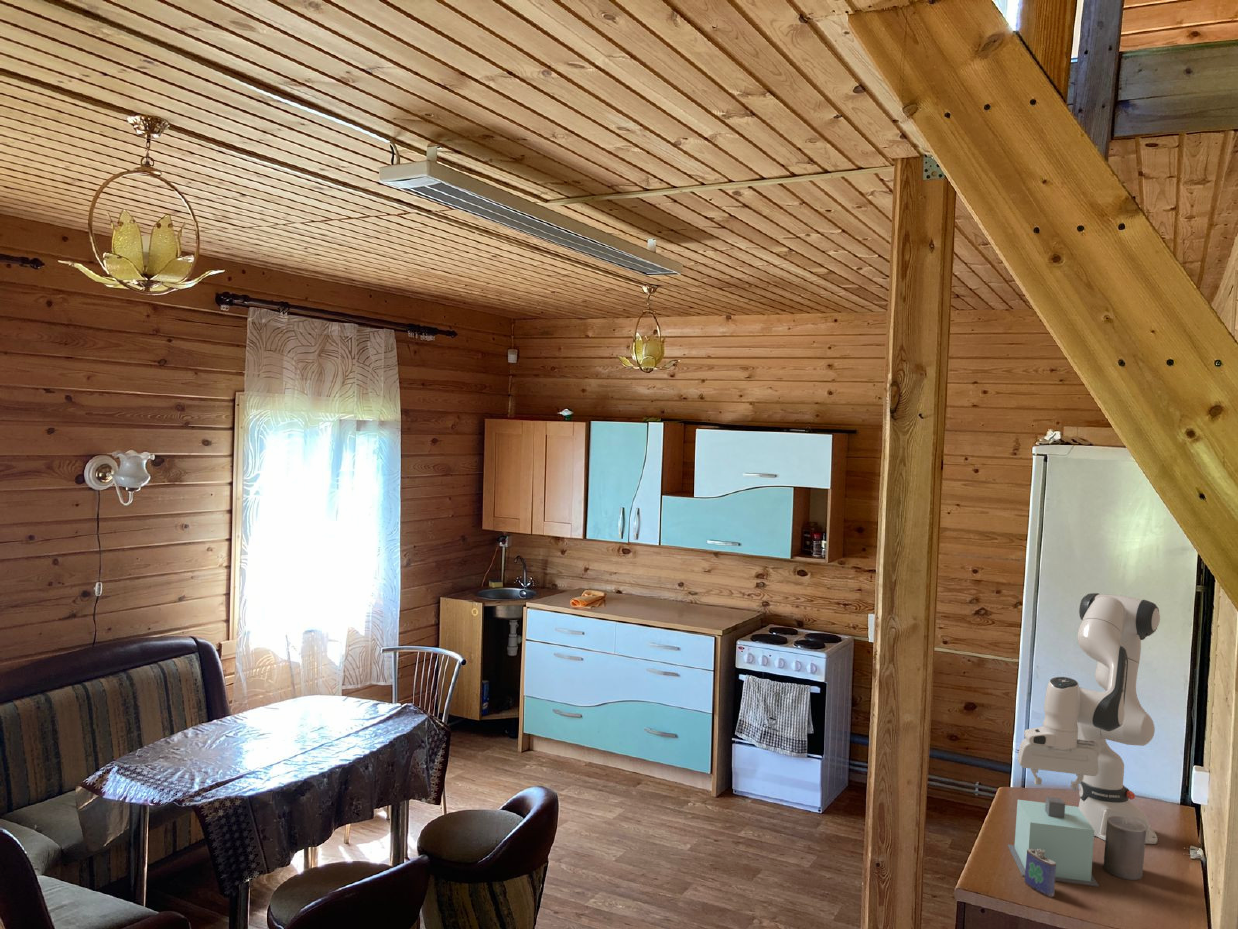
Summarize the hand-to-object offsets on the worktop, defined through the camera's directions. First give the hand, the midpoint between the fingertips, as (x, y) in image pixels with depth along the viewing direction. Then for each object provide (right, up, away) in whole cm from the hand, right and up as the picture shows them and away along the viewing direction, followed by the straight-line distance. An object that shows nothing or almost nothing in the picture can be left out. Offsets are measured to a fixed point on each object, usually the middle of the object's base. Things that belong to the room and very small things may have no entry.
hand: (1056, 787), depth 256 cm
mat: (-1, -22, +1) cm, 22 cm away
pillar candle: (+18, -23, -1) cm, 30 cm away
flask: (-11, -23, -13) cm, 28 cm away
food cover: (-1, -22, +1) cm, 22 cm away
